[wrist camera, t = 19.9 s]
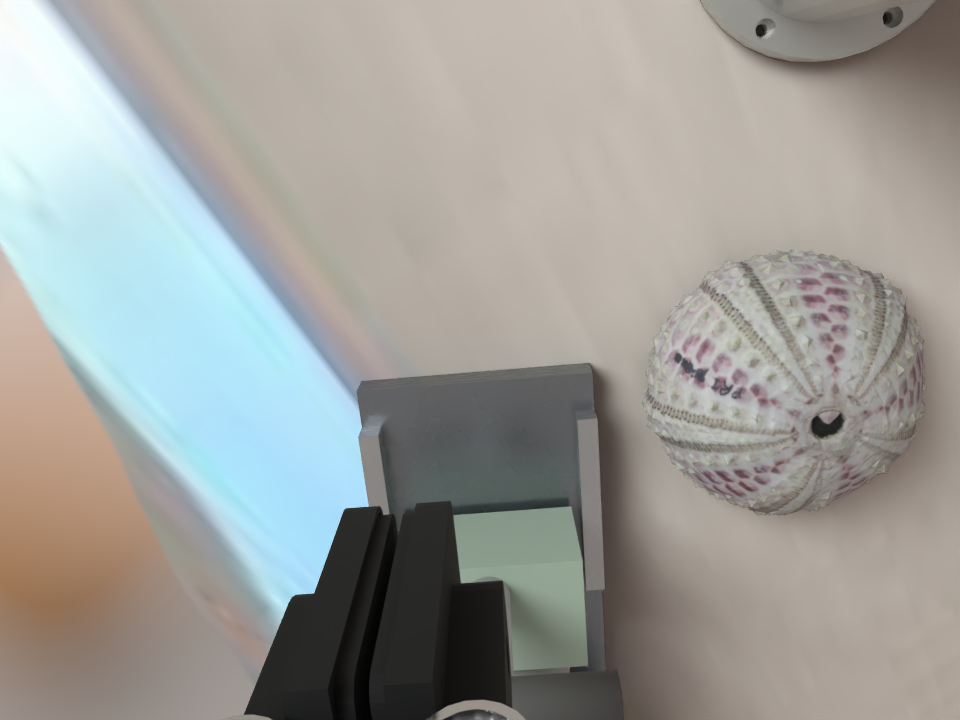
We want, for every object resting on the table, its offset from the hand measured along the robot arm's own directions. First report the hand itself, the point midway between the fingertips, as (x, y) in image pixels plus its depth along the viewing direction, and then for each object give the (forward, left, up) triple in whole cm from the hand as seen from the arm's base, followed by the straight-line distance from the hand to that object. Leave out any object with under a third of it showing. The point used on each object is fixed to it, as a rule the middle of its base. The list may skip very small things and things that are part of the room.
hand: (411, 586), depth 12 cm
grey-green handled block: (0, +16, -25) cm, 30 cm away
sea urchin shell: (-15, +7, -28) cm, 32 cm away
